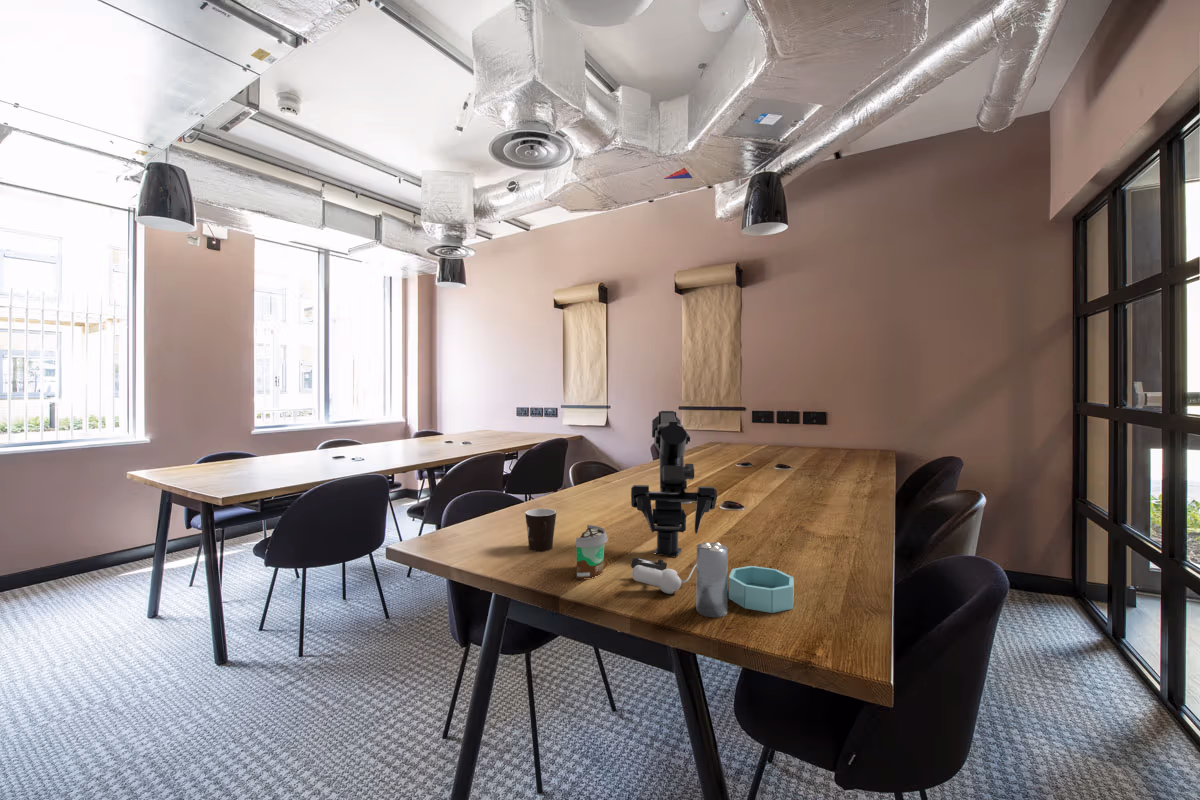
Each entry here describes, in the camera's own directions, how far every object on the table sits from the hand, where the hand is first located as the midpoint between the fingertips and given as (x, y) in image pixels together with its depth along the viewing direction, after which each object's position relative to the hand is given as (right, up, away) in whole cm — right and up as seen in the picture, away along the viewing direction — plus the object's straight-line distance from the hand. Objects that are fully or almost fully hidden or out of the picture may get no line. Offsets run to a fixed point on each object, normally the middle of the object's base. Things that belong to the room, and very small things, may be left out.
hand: (674, 532), depth 103 cm
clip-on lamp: (0, -14, +5) cm, 15 cm away
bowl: (+18, -14, -1) cm, 23 cm away
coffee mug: (-33, -13, +31) cm, 47 cm away
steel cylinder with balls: (+6, -14, -7) cm, 17 cm away
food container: (-17, -14, +13) cm, 26 cm away
